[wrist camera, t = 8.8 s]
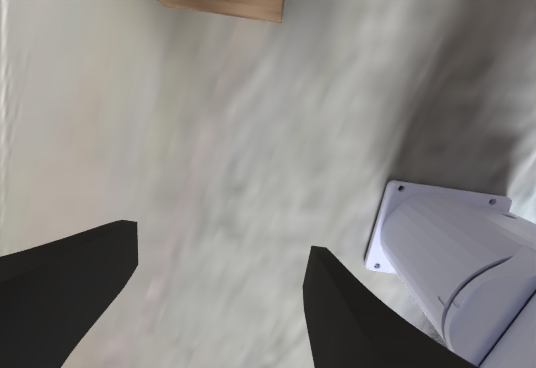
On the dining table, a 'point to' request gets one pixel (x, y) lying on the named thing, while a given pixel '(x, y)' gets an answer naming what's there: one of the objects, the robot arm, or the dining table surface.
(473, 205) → the robot arm
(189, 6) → the brown square slab
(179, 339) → the dining table surface
